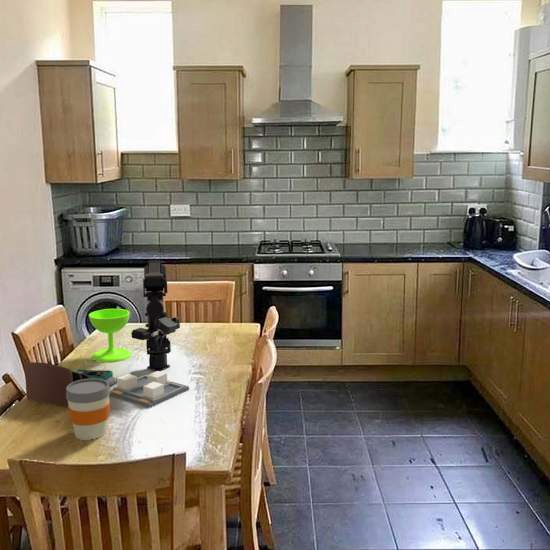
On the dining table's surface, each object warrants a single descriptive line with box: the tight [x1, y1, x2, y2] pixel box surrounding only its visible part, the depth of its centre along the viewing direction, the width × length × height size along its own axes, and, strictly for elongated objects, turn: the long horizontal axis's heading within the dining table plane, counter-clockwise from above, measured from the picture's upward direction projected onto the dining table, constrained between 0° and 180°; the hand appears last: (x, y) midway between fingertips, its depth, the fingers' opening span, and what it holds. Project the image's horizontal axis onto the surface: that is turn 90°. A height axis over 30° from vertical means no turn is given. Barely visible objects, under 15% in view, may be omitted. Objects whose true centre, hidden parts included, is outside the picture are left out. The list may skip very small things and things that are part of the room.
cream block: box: [146, 370, 168, 385], centre depth 217 cm, size 5×5×4 cm
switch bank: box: [109, 374, 190, 408], centre depth 214 cm, size 19×20×2 cm
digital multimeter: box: [74, 368, 114, 380], centre depth 227 cm, size 7×15×3 cm, turn 85°
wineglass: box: [88, 308, 132, 363], centre depth 250 cm, size 16×16×18 cm
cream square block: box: [143, 382, 164, 399], centre depth 207 cm, size 5×5×4 cm
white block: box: [116, 373, 138, 391], centre depth 214 cm, size 5×5×4 cm
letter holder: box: [24, 361, 90, 408], centre depth 207 cm, size 10×20×14 cm, turn 68°
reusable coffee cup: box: [66, 378, 111, 441], centre depth 182 cm, size 12×13×15 cm
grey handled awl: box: [106, 376, 116, 388], centre depth 216 cm, size 14×3×3 cm
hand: (157, 352), depth 220 cm, fingers closed
